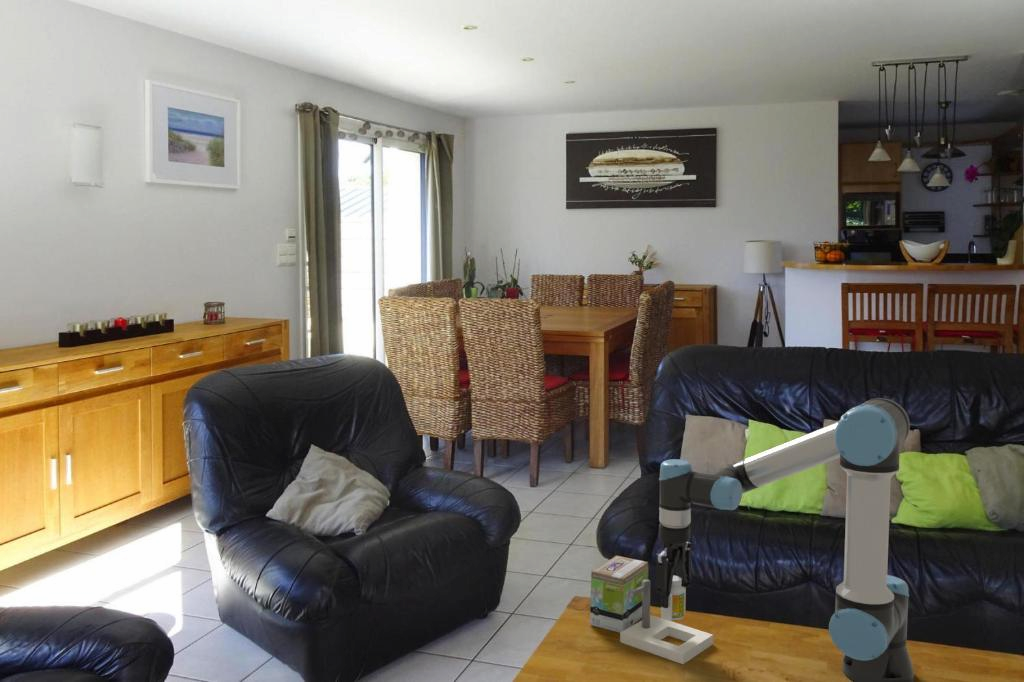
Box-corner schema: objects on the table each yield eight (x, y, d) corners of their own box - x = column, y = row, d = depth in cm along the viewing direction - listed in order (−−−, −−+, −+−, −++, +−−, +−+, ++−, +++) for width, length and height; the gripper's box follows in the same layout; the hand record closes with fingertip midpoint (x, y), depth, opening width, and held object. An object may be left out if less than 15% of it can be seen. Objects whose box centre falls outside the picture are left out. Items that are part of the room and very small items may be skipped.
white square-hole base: (712, 644, 218) (713, 587, 217) (683, 664, 208) (683, 605, 206) (651, 624, 230) (651, 570, 229) (620, 642, 220) (620, 586, 218)
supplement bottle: (681, 622, 214) (682, 583, 212) (659, 618, 215) (660, 580, 214) (685, 613, 219) (686, 575, 217) (664, 610, 220) (664, 572, 219)
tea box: (624, 634, 224) (624, 578, 223) (589, 625, 230) (589, 570, 228) (648, 613, 237) (649, 560, 235) (614, 606, 242) (615, 553, 241)
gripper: (681, 512, 224) (679, 600, 226) (640, 529, 210) (639, 623, 213) (707, 518, 219) (705, 608, 221) (667, 536, 205) (666, 632, 208)
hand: (673, 615), depth 217 cm, fingers closed on supplement bottle, 5 cm apart
